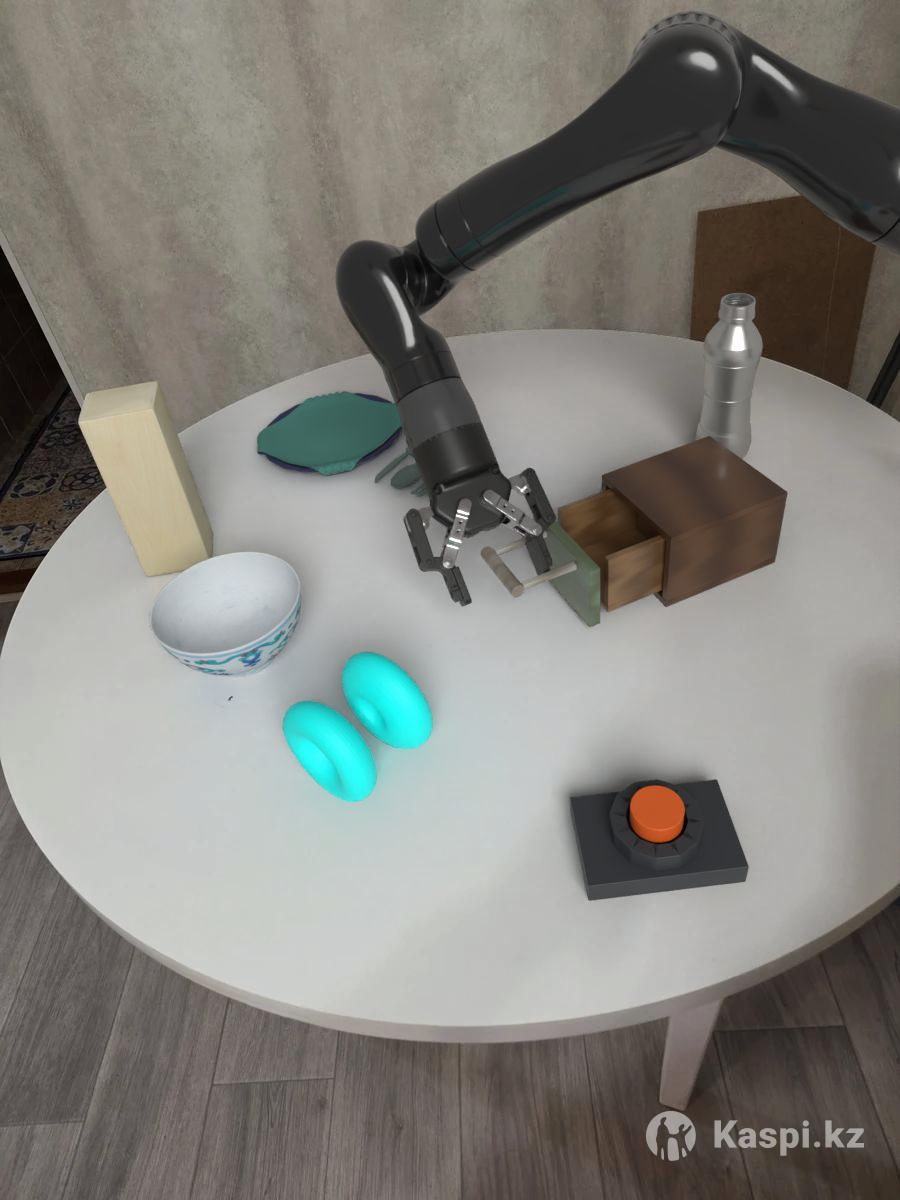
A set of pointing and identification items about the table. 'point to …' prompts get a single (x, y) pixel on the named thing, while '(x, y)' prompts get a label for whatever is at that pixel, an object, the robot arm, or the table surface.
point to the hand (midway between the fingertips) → (506, 589)
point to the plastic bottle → (730, 374)
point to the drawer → (594, 556)
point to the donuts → (380, 706)
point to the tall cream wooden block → (147, 476)
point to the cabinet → (703, 514)
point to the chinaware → (228, 613)
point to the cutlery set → (337, 436)
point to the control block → (656, 844)
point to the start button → (657, 814)
